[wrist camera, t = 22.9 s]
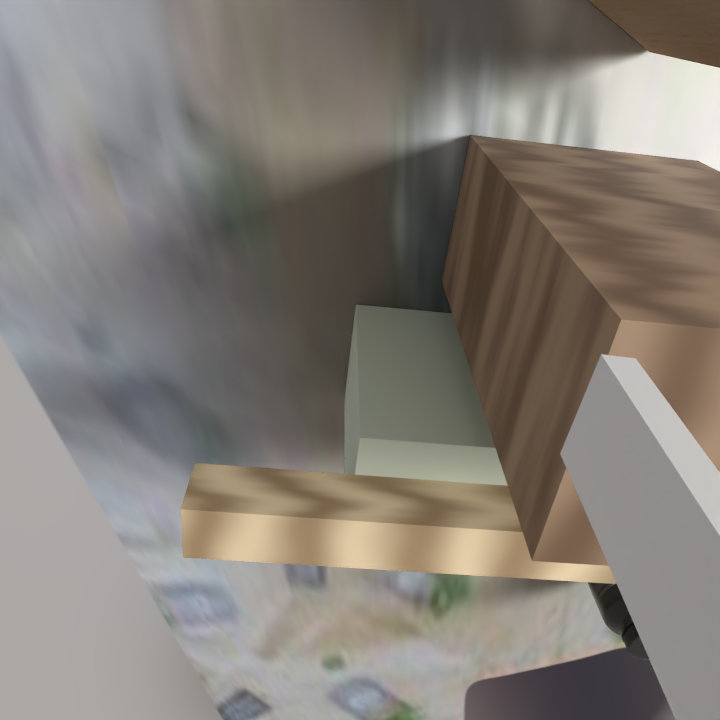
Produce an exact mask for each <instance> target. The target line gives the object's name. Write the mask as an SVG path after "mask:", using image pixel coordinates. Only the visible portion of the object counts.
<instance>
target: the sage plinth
mask: <svg viewBox="0 0 720 720" xmlns="http://www.w3.org/2000/svg"><path fill="white" fill-rule="evenodd" d="M344 474H353V475H367V476H381V477H394V478H408V479H422V480H436V481H449V482H463V483H477V484H491V485H505V486H508V485H507V482H506V479H505V476H504V473H503V470H502V466H501V463H500V460H499V457H498V454H497V451H496V448H495V445H494V442H493V439H492V435H491V432H490V429H489V426H488V423H487V420H486V417H485V414H484V411H483V407H482V404H481V401H480V398H479V395H478V392H477V389H476V386H475V383H474V380H473V376H472V373H471V370H470V367H469V364H468V361H467V358H466V355H465V352H464V348H463V345H462V342H461V339H460V336H459V333H458V330H457V327H456V324H455V320H454V317H453V314H452V313H443V312H432V311H422V310H411V309H400V308H389V307H378V306H367V305H356V308H355V316H354V324H353V333H352V341H351V349H350V358H349V366H348V375H347V383H346V391H345V428H344Z"/></svg>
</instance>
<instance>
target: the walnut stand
mask: <svg viewBox="0 0 720 720" xmlns="http://www.w3.org/2000/svg"><path fill="white" fill-rule="evenodd" d="M442 283H443V286H444V289H445V293H446V296H447V299H448V302H449V305H450V308H451V311H452V314H453V317H454V320H455V324H456V327H457V330H458V333H459V336H460V339H461V342H462V345H463V348H464V352H465V355H466V358H467V361H468V364H469V367H470V370H471V373H472V376H473V380H474V383H475V386H476V389H477V392H478V395H479V398H480V401H481V404H482V407H483V411H484V414H485V417H486V420H487V423H488V426H489V429H490V432H491V435H492V439H493V442H494V445H495V448H496V451H497V454H498V457H499V460H500V463H501V466H502V470H503V473H504V476H505V479H506V482H507V485H508V488H509V491H510V494H511V498H512V501H513V504H514V507H515V510H516V513H517V516H518V519H519V522H520V526H521V529H522V532H523V535H524V538H525V541H526V544H527V547H528V550H529V553H530V557H531V560H532V561H540V562H556V563H572V564H588V565H604V566H609V565H608V563H607V560H606V558H605V556H604V553H603V551H602V549H601V547H600V544H599V542H598V540H597V537H596V535H595V533H594V530H593V528H592V526H591V524H590V521H589V519H588V517H587V514H586V512H585V510H584V507H583V505H582V503H581V501H580V498H579V496H578V494H577V491H576V489H575V487H574V484H573V482H572V480H571V478H570V475H569V473H568V471H567V468H566V466H565V464H564V461H563V459H562V457H561V455H560V453H561V450H562V448H563V446H564V443H565V441H566V438H567V436H568V433H569V431H570V429H571V426H572V424H573V421H574V419H575V416H576V414H577V412H578V409H579V407H580V404H581V402H582V399H583V397H584V395H585V392H586V390H587V387H588V385H589V383H590V380H591V378H592V375H593V373H594V370H595V368H596V366H597V363H598V361H599V358H600V356H601V354H603V355H612V356H620V357H629V358H636V359H637V361H638V362H639V363H640V365H641V366H642V368H643V369H644V370H645V372H646V373H647V374H648V376H649V377H650V378H651V380H652V381H653V382H654V384H655V385H656V387H657V388H658V389H659V391H660V392H661V393H662V395H663V396H664V397H665V399H666V400H667V402H668V403H669V404H670V406H671V407H672V408H673V410H674V411H675V412H676V414H677V415H678V417H679V418H680V419H681V421H682V422H683V423H684V425H685V426H686V427H687V429H688V430H689V432H690V433H691V434H692V436H693V437H694V438H695V440H696V441H697V442H698V444H699V445H700V447H701V448H702V449H703V451H704V452H705V453H706V455H707V456H708V457H709V459H710V460H711V462H712V463H713V464H714V466H715V467H716V468H717V470H718V471H719V472H720V172H719V171H717V170H715V169H713V168H711V167H709V166H707V165H705V164H703V163H701V162H699V161H693V160H684V159H676V158H667V157H658V156H649V155H640V154H632V153H623V152H614V151H605V150H597V149H588V148H579V147H570V146H561V145H553V144H544V143H535V142H526V141H518V140H509V139H500V138H491V137H482V136H474V135H470V139H469V144H468V149H467V154H466V160H465V165H464V170H463V175H462V180H461V185H460V190H459V195H458V201H457V206H456V211H455V216H454V221H453V226H452V231H451V236H450V242H449V247H448V252H447V257H446V262H445V267H444V272H443V278H442Z"/></svg>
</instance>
